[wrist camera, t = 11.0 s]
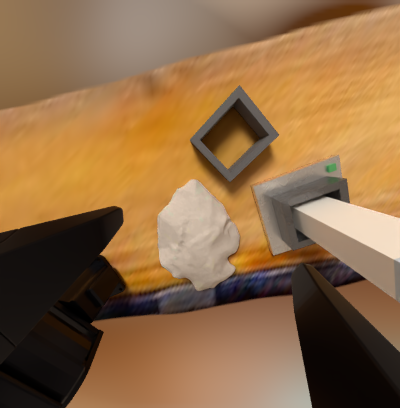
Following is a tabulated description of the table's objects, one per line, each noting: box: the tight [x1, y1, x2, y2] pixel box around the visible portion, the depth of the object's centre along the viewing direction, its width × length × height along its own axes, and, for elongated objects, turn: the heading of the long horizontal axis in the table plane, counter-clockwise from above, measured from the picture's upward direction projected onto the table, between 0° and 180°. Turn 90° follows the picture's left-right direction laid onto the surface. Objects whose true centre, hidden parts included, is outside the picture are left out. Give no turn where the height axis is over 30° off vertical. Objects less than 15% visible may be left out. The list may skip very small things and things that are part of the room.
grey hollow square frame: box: [190, 85, 279, 182], centre depth 17 cm, size 7×6×2 cm
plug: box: [290, 195, 400, 302], centre depth 13 cm, size 4×3×12 cm
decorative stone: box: [157, 179, 240, 291], centre depth 20 cm, size 11×4×15 cm
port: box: [251, 155, 350, 256], centre depth 19 cm, size 10×10×4 cm
